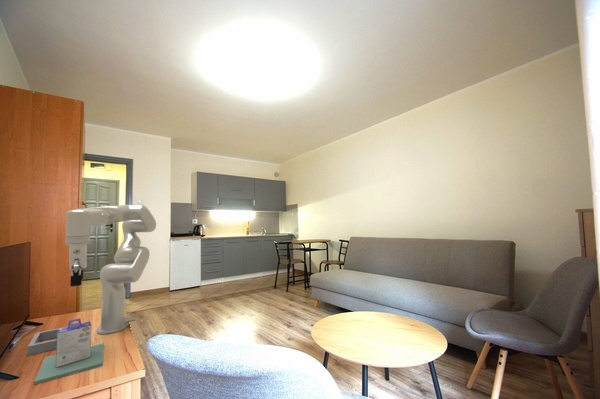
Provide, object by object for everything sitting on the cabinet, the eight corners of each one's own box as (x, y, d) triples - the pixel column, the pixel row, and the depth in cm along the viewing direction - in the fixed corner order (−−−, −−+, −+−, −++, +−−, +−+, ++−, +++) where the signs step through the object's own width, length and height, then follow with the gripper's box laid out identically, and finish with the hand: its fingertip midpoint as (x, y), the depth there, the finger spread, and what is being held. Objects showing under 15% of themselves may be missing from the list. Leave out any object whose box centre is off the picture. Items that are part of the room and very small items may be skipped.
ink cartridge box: (89, 351, 103) (90, 314, 103) (91, 357, 99) (92, 318, 99) (55, 362, 96) (57, 322, 96) (55, 368, 92) (57, 326, 92)
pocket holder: (80, 331, 123) (80, 323, 123) (76, 344, 111) (77, 335, 111) (36, 340, 114) (36, 332, 114) (27, 355, 102) (27, 346, 102)
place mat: (103, 345, 109) (103, 343, 109) (102, 365, 95) (102, 362, 95) (45, 359, 99) (45, 357, 99) (33, 384, 84) (33, 381, 84)
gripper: (89, 241, 99) (88, 286, 98) (90, 237, 113) (89, 276, 112) (62, 243, 94) (61, 290, 94) (67, 238, 108) (66, 279, 107)
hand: (76, 282), depth 103 cm, fingers open, 9 cm apart
